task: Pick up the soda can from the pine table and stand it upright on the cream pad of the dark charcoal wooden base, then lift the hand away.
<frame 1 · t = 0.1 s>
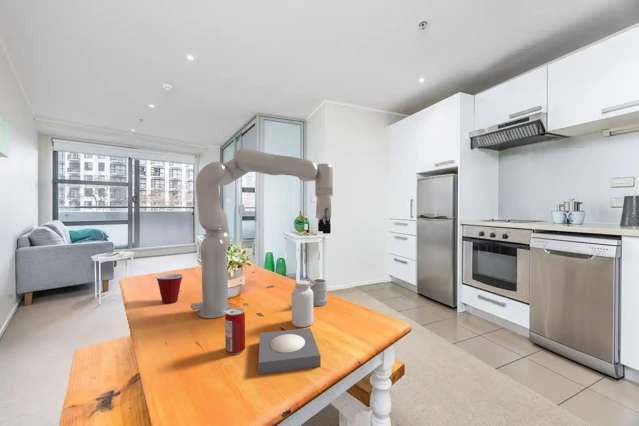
hand: (324, 232, 115), 31 cm above the table, tool pointing down, fingers open, 9 cm apart
base: (287, 353, 76), on the table
plastic cup: (170, 302, 119), on the table
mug: (315, 304, 115), on the table
pill bottle: (302, 323, 96), on the table
soda can: (235, 350, 78), on the table
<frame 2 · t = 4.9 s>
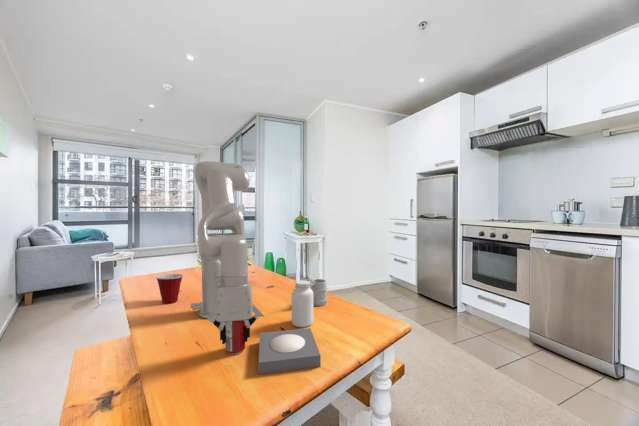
hand: (235, 340, 78), 3 cm above the table, tool pointing down, fingers closed on soda can, 5 cm apart
soda can: (235, 350, 78), on the table, touching gripper
everything else where it was.
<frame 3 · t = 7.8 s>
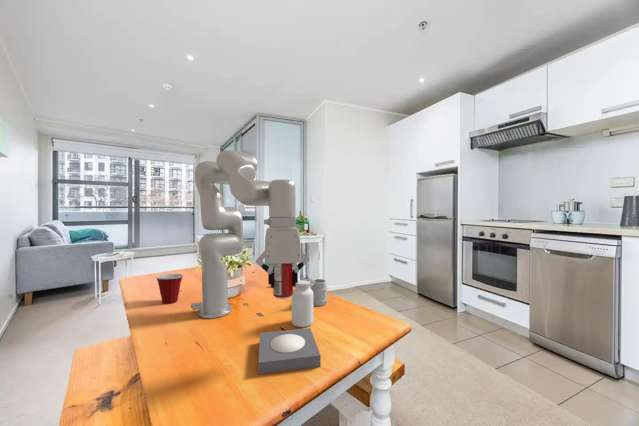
hand: (283, 285, 76), 20 cm above the table, tool pointing down, fingers closed on soda can, 5 cm apart
soda can: (283, 296, 76), point 17 cm above the table, touching gripper
everything else where it was.
when the fingers open (7 cm above the table, at t = 10.7 s): soda can drops 1 cm, resting on base.
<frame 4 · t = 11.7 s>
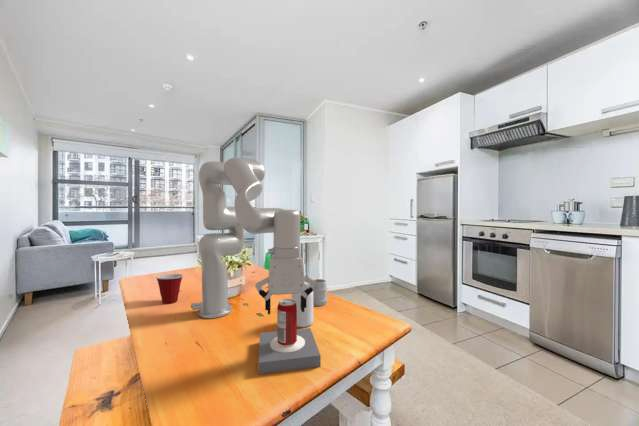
hand: (285, 311, 76), 12 cm above the table, tool pointing down, fingers open, 9 cm apart
soda can: (287, 342, 76), point 3 cm above the table, touching base
everything else where it was.
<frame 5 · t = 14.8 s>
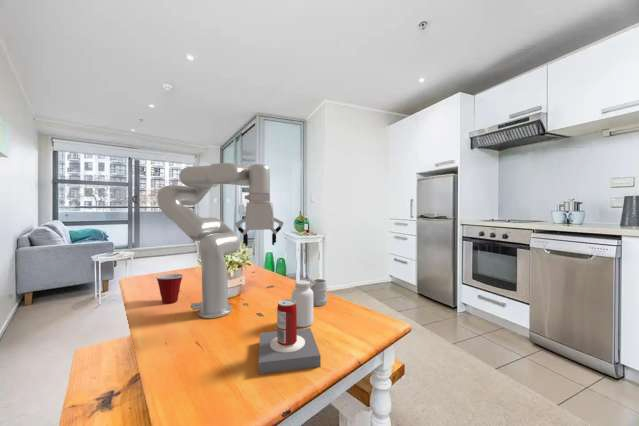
hand: (260, 245, 97), 28 cm above the table, tool pointing down, fingers open, 9 cm apart
nothing on the table moved.
at the end: soda can inside the target area on the base (0.1 cm from its centre), point 3.0 cm above the base's base; soda can tilted 0°; the gripper is holding nothing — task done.
